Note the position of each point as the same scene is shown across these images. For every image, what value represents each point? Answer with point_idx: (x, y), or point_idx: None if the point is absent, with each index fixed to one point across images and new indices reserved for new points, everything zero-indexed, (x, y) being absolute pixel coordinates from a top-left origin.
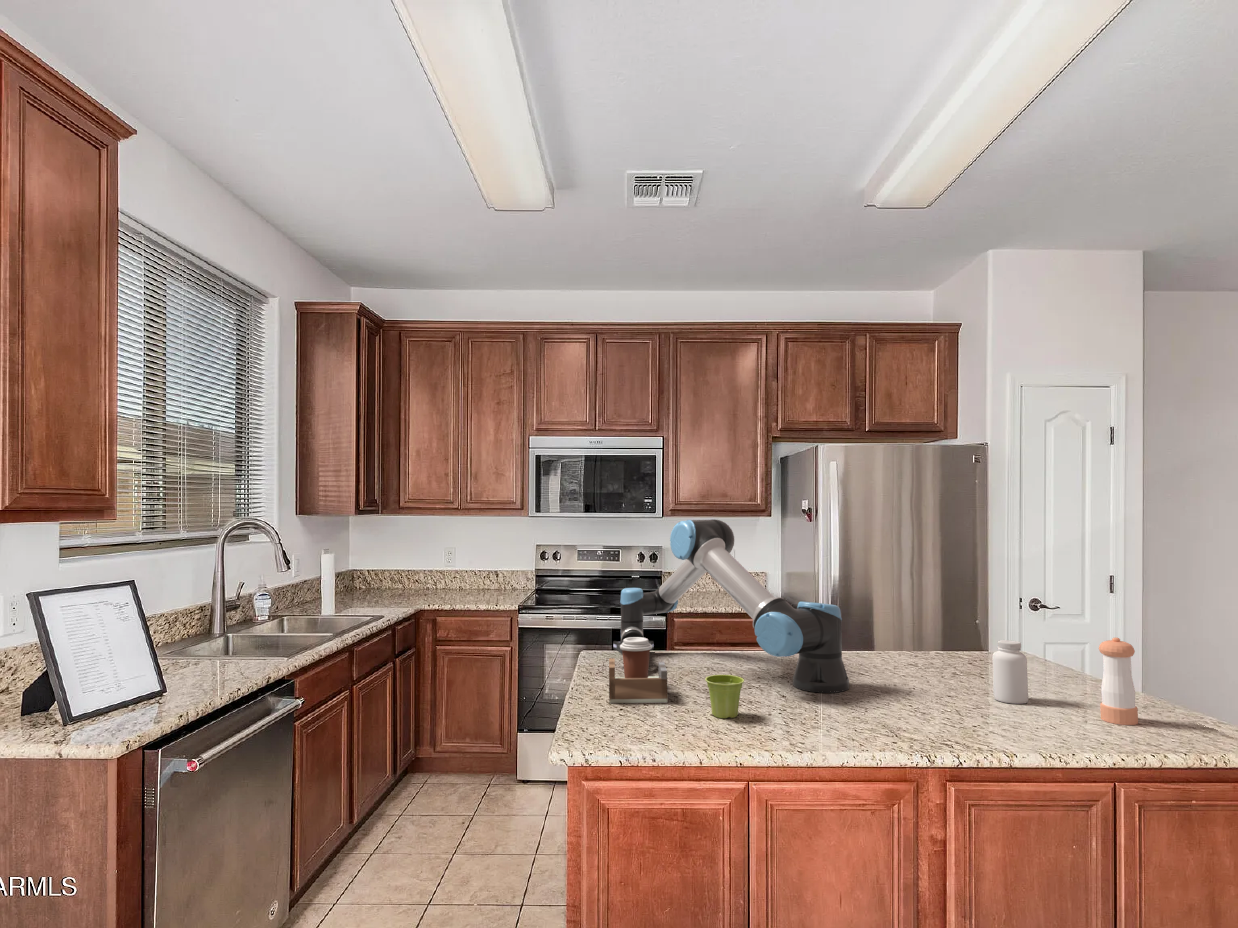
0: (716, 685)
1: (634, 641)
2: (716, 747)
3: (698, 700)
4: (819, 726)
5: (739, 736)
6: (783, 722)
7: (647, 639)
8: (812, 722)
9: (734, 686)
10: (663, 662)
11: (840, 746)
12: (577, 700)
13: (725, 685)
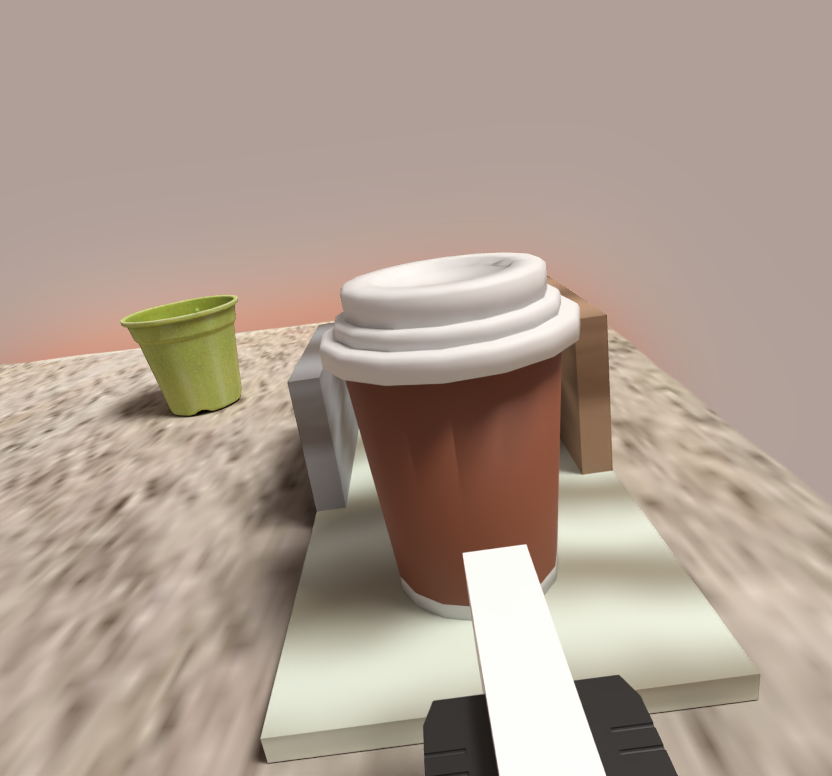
0: (223, 302)
1: (447, 257)
2: (305, 331)
3: (217, 465)
4: (44, 398)
5: (244, 353)
6: (99, 399)
7: (347, 283)
8: (34, 407)
9: (178, 310)
10: (296, 374)
11: (101, 360)
12: (698, 405)
13: (204, 300)
